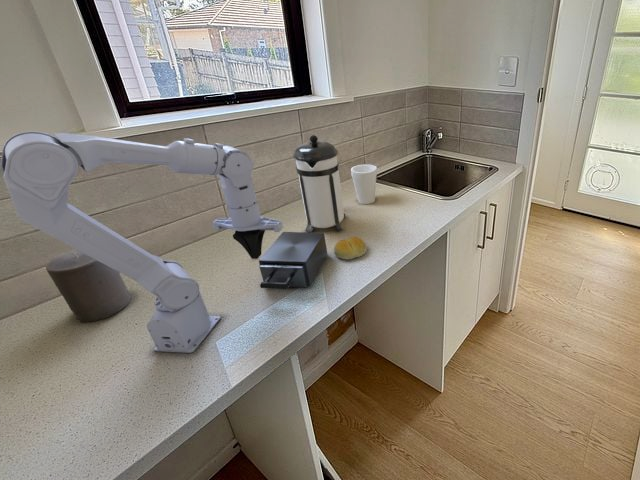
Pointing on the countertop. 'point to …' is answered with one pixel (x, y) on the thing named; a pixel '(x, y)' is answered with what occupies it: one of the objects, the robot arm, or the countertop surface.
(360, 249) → the bread roll
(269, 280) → the dish drawer
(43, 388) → the countertop surface
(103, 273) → the pillar candle
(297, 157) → the coffee press
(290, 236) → the drawer cabinet
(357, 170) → the foam cup
